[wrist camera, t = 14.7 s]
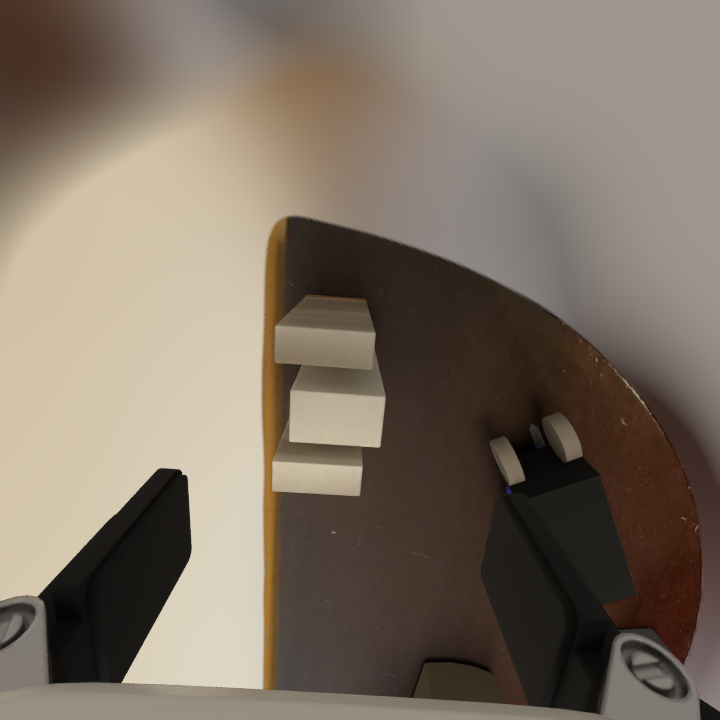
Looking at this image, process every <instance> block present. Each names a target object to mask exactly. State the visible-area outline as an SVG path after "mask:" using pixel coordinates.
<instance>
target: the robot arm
mask: <svg viewBox="0 0 720 720" xmlns="http://www.w3.org/2000/svg"><path fill="white" fill-rule="evenodd" d="M191 548H192V546H191V529H190V512H189V494H188V479H187V476H186V475H182V472H181V470H179V469H165V468H161V469H158V470H157V471H156V472H155V473H154V474H153V475H152V476H151V477H150V478H149V480H148V481H147V482H146V483H145V484H144V485H143V486H142V487H141V488H140V489H139V490H138V491H137V492H136V494H135V495H134V496H133V497H132V498H131V499H130V500H129V501H128V502H127V503H126V504H125V505H124V507H123V508H122V509H121V510H120V511H119V512H118V513H117V514H116V515H114V516H113V517H112V518H111V519H110V520H109V521H108V522H107V523H106V524H105V525H104V526H103V527H102V528H101V529H100V530H99V531H98V533H96V535H95V536H94V537H93V538H92V539H91V540H90V541H89V542H88V543H87V544H86V545H85V546H84V547H83V549H81V551H80V552H79V553H78V554H77V555H76V556H75V557H74V558H73V559H72V560H71V561H70V562H69V564H68V565H67V566H66V567H65V568H64V569H63V570H62V571H61V572H60V573H59V574H58V575H57V576H56V577H55V578H54V580H53V581H52V582H51V583H50V584H49V585H48V586H47V587H46V588H45V589H44V590H43V592H42V593H40V595H39V596H38V597H35V596H28V595H26V596H18V597H13V598H10V599H6V600H3V601H0V720H720V712H719V711H718V710H716V709H715V708H713V707H711V706H710V705H709V704H707V703H705V702H704V701H702V700H701V699H699V693H698V690H697V686H696V683H695V682H694V680H693V678H692V676H691V675H690V673H689V672H688V670H687V669H686V668H685V667H684V666H683V665H682V663H681V662H680V661H679V660H678V659H677V658H676V657H675V656H673V655H672V654H671V653H670V652H669V651H668V650H666V649H665V648H663V647H662V646H660V645H659V644H657V643H656V642H654V641H652V640H650V639H648V638H646V637H644V636H641V635H637V634H633V633H620V631H619V630H618V628H617V627H616V626H615V624H614V623H613V621H612V620H611V618H610V617H609V615H608V614H607V612H606V611H605V609H604V608H603V607H602V605H601V604H600V602H599V601H598V599H597V598H596V596H595V595H594V593H593V592H592V591H591V589H590V588H589V586H588V585H587V583H586V582H585V580H584V579H583V577H582V576H581V574H580V573H579V572H578V570H577V569H576V567H575V566H574V564H573V563H572V561H571V560H570V558H569V557H568V555H567V554H566V553H565V551H564V550H563V548H562V547H561V546H560V545H559V544H558V542H557V541H556V539H555V538H554V536H553V535H552V533H551V532H550V530H549V529H548V527H547V526H546V524H545V523H544V522H543V520H542V519H541V517H540V516H539V514H538V513H537V511H536V510H535V508H534V507H533V505H532V504H531V502H530V501H529V500H528V498H527V497H526V496H525V495H524V494H514V493H504V494H503V495H502V498H500V497H499V498H497V500H496V504H495V508H494V513H493V517H492V522H491V526H490V530H489V535H488V539H487V544H486V548H485V553H484V557H483V562H482V566H481V576H482V581H483V584H484V586H485V589H486V592H487V594H488V597H489V600H490V602H491V605H492V608H493V610H494V613H495V616H496V618H497V621H498V624H499V626H500V629H501V632H502V634H503V637H504V640H505V642H506V645H507V648H508V650H509V653H510V656H511V658H512V661H513V664H514V666H515V669H516V672H517V674H518V677H519V680H520V682H521V685H522V688H523V690H524V693H525V696H526V698H527V701H528V704H529V706H522V705H510V704H498V703H483V702H467V701H451V700H436V699H420V698H404V697H388V696H370V695H353V694H336V693H318V692H300V691H282V690H263V689H243V688H223V687H203V686H183V685H182V686H181V685H163V684H162V685H161V684H130V683H127V684H126V683H122V681H123V679H124V677H125V675H126V673H127V672H128V670H129V668H130V666H131V664H132V663H133V661H134V659H135V657H136V655H137V654H138V652H139V650H140V648H141V646H142V645H143V642H144V641H145V639H146V637H147V635H148V634H149V632H150V630H151V628H152V626H153V624H154V623H155V621H156V619H157V617H158V615H159V614H160V612H161V610H162V608H163V606H164V605H165V603H166V601H167V599H168V597H169V596H170V594H171V592H172V590H173V588H174V586H175V585H176V583H177V581H178V579H179V577H180V576H181V574H182V572H183V570H184V568H185V566H186V564H187V563H188V561H189V558H190V555H191Z"/></svg>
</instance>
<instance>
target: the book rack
mask: <svg viewBox="0 0 720 720" xmlns="http://www.w3.org/2000/svg"><path fill="white" fill-rule="evenodd" d="M375 337H376V333H375V330H374V326H373V323H372V319H371V316H370V312H369V309H368V306H367V301H366V299H360V298H348V297H336V296H324V295H312V294H307V295H306V296H305V298H304V299H303V300H302V301H301V302H300V303H298V304H297V305H296V306H295V307H294V308H293V309H292V310H291V311H290V312H289V313H288V314H287V315H286V316H285V317H284V318H283V319H282V320H281V321H280V322H279V323H277V324H276V326H275V360H274V361H275V363H286V364H299V365H313V366H326V367H340V368H353V369H367V370H372V367H373V357H374V347H375ZM289 422H290V417H289V420H288V422H287V425H286V428H285V430H284V433H283V435H282V438H281V441H280V443H279V446H278V449H277V451H276V454H275V456H274V459H273V464H272V491H281V492H298V493H315V494H332V495H349V496H360V489H361V479H362V469H363V464H362V446H349V445H334V444H318V443H303V442H290V441H289Z"/></svg>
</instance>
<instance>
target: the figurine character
mask: <svg viewBox="0 0 720 720" xmlns="http://www.w3.org/2000/svg"><path fill="white" fill-rule="evenodd" d="M542 426H543V429H544V432H545V435H546V437H547V439H548V441H549V443H550V445H547V446H545V443H544V441H543V438H542V436H541V433H540V431H539V428H538V427H537V426H535V425H533V424H532V423H531V424H530V427H529V429H528V430H529V432H530V434H531V437H532V439H533V442H534V444H535V447H536V450H533V451H530V452H528V453H525V454H522V455H519V456H516V454H515V452H514V450H513V448H512V446H511V444H510V443H509V441H508V439H507V438H506V437H505V436H500V437H499V438H497V439H494V440H491V441H489V443H490V447H491V449H492V452H493V455H494V457H495V460H496V462H497V463H496V467H497V469H498V471H499V473H500V475H501V476H502V478H503V480H504V481H505V483H506V485H507V493H514V494H524V495H525V496H526V497H527V498H528V500H529V501H530V502H531V504H532V505H533V507H534V508H535V510H536V511H537V513H538V514H539V516H540V517H541V519H542V520H543V522H544V523H545V524H546V526H547V527H548V529H549V530H550V532H551V533H552V535H553V536H554V538H555V539H556V541H557V542H558V544H559V545H560V546H561V547H562V548H563V550H564V551H565V553H566V554H567V555H568V557H569V558H570V560H571V561H572V563H573V564H574V566H575V567H576V569H577V570H578V572H579V573H580V574H581V576H582V577H583V579H584V580H585V582H586V583H587V585H588V586H589V588H590V589H591V591H592V592H593V593H594V595H595V596H596V598H597V599H598V601H599V602H600V604H601V605H603V604H607V603H610V602H614V601H617V600H621V599H624V598H628V597H631V596H635V595H638V594H637V590H636V587H635V584H634V581H633V578H632V574H631V571H630V568H629V565H628V561H627V558H626V555H625V552H624V548H623V545H622V542H621V539H620V536H619V532H618V529H617V526H616V523H615V519H614V516H613V513H612V510H611V506H610V503H609V500H608V497H607V494H606V490H605V487H604V484H603V481H602V477H601V475H600V474H599V473H598V472H597V471H596V470H595V469H594V468H593V467H592V466H591V465H590V464H589V463H588V462H587V461H586V460H585V459H584V458H583V457H582V448H581V444H580V441H579V439H578V437H577V435H576V433H575V431H574V429H573V427H572V426H571V424H570V423H569V421H568V420H567V419H566V417H565V416H564V415H563V414H561V413H559V412H558V413H555V414H552V415H549V416H547V417H544V418H542Z"/></svg>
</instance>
